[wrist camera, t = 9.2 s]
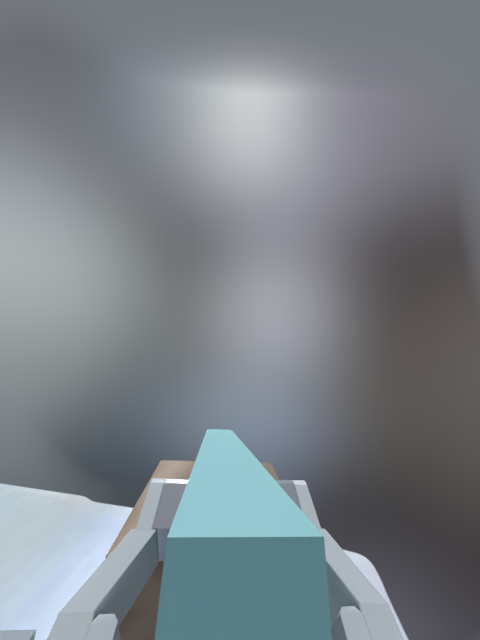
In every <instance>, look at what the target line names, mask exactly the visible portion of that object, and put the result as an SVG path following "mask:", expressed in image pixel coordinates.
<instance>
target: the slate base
mask: <svg viewBox="0 0 480 640" xmlns="http://www.w3.org/2000/svg"><path fill="white" fill-rule="evenodd" d="M35 632H36V630H9V631H0V640H34V638H35Z"/></svg>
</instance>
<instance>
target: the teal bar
mask: <svg viewBox="0 0 480 640" xmlns="http://www.w3.org/2000/svg"><path fill="white" fill-rule="evenodd" d="M155 640H332V633H331V620H330V607H329V594H328V581H327V568H326V555H325V543H324V536H323V535H322V534H321V532H320V531H319V530H318V529H317V528H316V527H315V526H314V524H313V523H312V522H311V521H310V520H309V519H308V518H307V516H306V515H305V514H304V513H303V512H302V511H301V509H300V508H299V507H298V506H297V505H296V504H295V503H294V501H293V500H292V499H291V498H290V497H289V496H288V494H287V493H286V492H285V491H284V490H283V489H282V488H281V486H280V485H279V484H278V483H277V482H276V481H275V479H274V478H273V477H272V476H271V475H270V474H269V473H268V471H267V470H266V469H265V468H264V467H263V466H262V464H261V463H260V462H259V461H258V460H257V459H256V458H255V456H254V455H253V454H252V453H251V452H250V451H249V449H247V447H246V446H245V445H244V444H243V443H242V441H241V440H240V439H239V438H238V437H237V436H236V434H235V433H234V432H233V431H232V430H218V429H217V430H216V429H207V432H206V434H205V437H204V440H203V442H202V445H201V448H200V450H199V453H198V456H197V459H196V461H195V464H194V466H193V469H192V472H191V474H190V477H189V480H188V482H187V485H186V488H185V490H184V493H183V496H182V498H181V501H180V504H179V507H178V509H177V512H176V515H175V517H174V520H173V523H172V525H171V528H170V531H169V533H168V536H167V541H166V549H165V557H164V566H163V574H162V582H161V590H160V599H159V607H158V615H157V623H156V631H155Z"/></svg>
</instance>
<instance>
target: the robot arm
mask: <svg viewBox="0 0 480 640" xmlns="http://www.w3.org/2000/svg"><path fill="white" fill-rule="evenodd" d="M188 480H189V479H166V478H152V480H151V482H150V484H149V488H148V491H147V494H146V497H145V500H144V503H143V507H142V510H141V513H140V516H139V519H138V523H137V526H136V529H133V530H130V531H129V533H128V534H127V535H126V536H125V537H124V538H123V540H122V541H121V542H120V543H119V544H118V545H117V547H116V548H115V549H114V550H113V551H112V552H111V553H110V555H109V556H108V557H107V558H106V559H105V560H104V562H103V563H102V564H101V565H100V566H99V567H98V569H97V570H96V571H95V572H94V573H93V574H92V576H91V577H90V578H89V579H88V580H87V581H86V582H85V584H84V585H83V586H82V587H81V588H80V589H79V591H78V592H77V593H76V594H75V595H74V596H73V598H72V599H71V600H70V601H69V602H68V603H67V605H66V606H65V607H64V608H63V609H62V610H61V611H60V613H59V614H58V617H57V619H56V621H55V623H54V626H53V628H52V630H51V632H50V634H49V637H48V639H47V640H121V637H120V631H119V626H120V624H121V622H122V621H123V619H124V618H125V616H126V614H127V613H128V611H129V610H130V608H131V606H132V605H133V603H134V602H135V600H136V598H137V597H138V595H139V594H140V592H141V590H142V589H143V587H144V585H145V584H146V582H147V581H148V579H149V577H150V576H151V574H152V573H153V571H154V569H155V568H156V566H157V565H158V562H159V561H164V557H165V549H166V541H167V536H168V533H169V531H170V528H171V525H172V523H173V520H174V517H175V515H176V512H177V509H178V507H179V504H180V501H181V498H182V496H183V493H184V490H185V488H186V485H187V482H188ZM275 481H276V482H277V483H278V484H279V485H280V486H281V488H282V489H283V490H284V491H285V492H286V493H287V494H288V496H289V497H290V498H291V499H292V500H293V501H294V503H295V504H296V505H297V506H298V507H299V508H300V509H301V511H302V512H303V513H304V514H305V515H306V516H307V518H308V519H309V520H310V521H311V522H312V523H313V524H314V526H315V527H316V528H317V529H318V530H319V531H320V532H321V534H322V535H323V536H324V543H325V555H326V568H327V581H328V594H329V607H330V620H331V627H332V628H331V633H332V640H404V639H403V637H402V635H401V632H400V630H399V628H398V625H397V623H396V621H395V619H394V616H393V614H392V612H391V609H390V607H389V605H388V603H387V602H386V601H385V600H384V598H383V597H382V596H381V595H380V594H379V592H378V591H377V590H376V589H375V588H374V587H373V585H372V584H371V583H370V582H369V581H368V579H367V578H366V577H365V576H364V575H363V574H362V572H361V571H360V570H359V569H358V568H357V566H356V565H355V564H354V563H353V562H352V561H351V559H350V558H349V557H348V556H347V555H346V553H345V552H344V551H343V550H342V549H341V548H340V546H339V545H338V544H337V543H336V542H335V540H334V539H333V538H332V537H331V536H330V535H329V533H328V532H327V531H326V530H325V529H321V527H320V524H319V521H318V518H317V515H316V512H315V509H314V506H313V503H312V499H311V496H310V493H309V490H308V487H307V484H306V482H305V481H303V480H300V481H299V480H296V481H295V480H294V481H293V480H275Z"/></svg>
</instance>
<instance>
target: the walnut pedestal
mask: <svg viewBox="0 0 480 640" xmlns="http://www.w3.org/2000/svg"><path fill="white" fill-rule="evenodd" d="M194 464H195V461H165V460H163V461H160V463H159V465H158V467H157V468H156V470H155V472H154V474H153V475H152V477H151V479H150V481H149V482H148V484H147V486H146V488H145V489H144V491H143V493H142V495H141V497H140V498H139V500H138V502H137V503H136V505H135V507H134V509H133V510H132V512H131V514H130V516H129V517H128V519H127V521H126V523H125V524H124V526H123V528H122V529H121V531H120V533H119V535H118V536H117V538H116V540H115V542H114V543H113V545H112V547H111V549H110V550H109V552H108V554H107V556H106V558H107V557H108V556H109V555H110V553H111V552H112V551H113V550H114V549H115V548H116V547H117V545H118V544H119V543H120V542H121V541H122V540H123V538H124V537H125V536H126V535H127V534H128V533H129V531H130V530H133V529H136V526H137V523H138V519H139V516H140V513H141V510H142V507H143V503H144V500H145V497H146V494H147V491H148V488H149V484H150V482H151V480H152V478H166V479H189V477H190V474H191V472H192V469H193V466H194ZM261 464H262V466H263V467H264V468H265V469H266V470H267V471H268V473H269V474H270V475H271V476H272V477H273V478H274V479H275V480H279V478H278V477H277V474H276V472H275V470H274V468H273V466H272V464H271V463H261ZM163 566H164V561H159V562H158V565H157V566H156V568H155V569H154V571H153V573H152V574H151V576H150V577H149V579H148V581H147V582H146V584H145V585H144V587H143V589H142V590H141V592H140V594H139V595H138V597H137V598H136V600H135V602H134V603H133V605H132V606H131V608H130V610H129V611H128V613H127V614H126V616H125V618H124V619H123V621H122V622H121V624H120V626H119V631H120V637H121V640H155V631H156V623H157V615H158V607H159V599H160V590H161V582H162V574H163Z"/></svg>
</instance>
